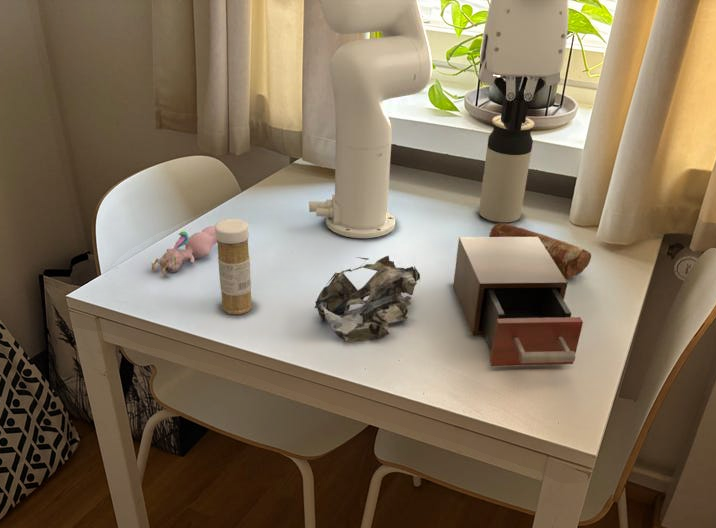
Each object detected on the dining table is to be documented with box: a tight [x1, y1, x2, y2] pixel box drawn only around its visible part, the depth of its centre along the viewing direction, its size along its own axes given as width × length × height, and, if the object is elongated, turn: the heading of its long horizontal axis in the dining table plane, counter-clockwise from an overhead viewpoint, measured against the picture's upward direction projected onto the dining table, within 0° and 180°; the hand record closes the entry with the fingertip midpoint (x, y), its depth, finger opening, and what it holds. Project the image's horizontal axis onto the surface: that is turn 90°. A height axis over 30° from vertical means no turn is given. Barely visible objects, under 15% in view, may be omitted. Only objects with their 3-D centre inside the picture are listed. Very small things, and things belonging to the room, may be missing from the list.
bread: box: [488, 222, 592, 280], centre depth 129 cm, size 6×19×6 cm, turn 41°
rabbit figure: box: [150, 225, 217, 277], centre depth 123 cm, size 6×6×15 cm
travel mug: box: [478, 114, 535, 224], centre depth 141 cm, size 8×8×18 cm
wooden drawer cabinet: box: [452, 236, 568, 337], centre depth 114 cm, size 15×13×9 cm
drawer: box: [480, 288, 584, 367], centre depth 105 cm, size 18×11×7 cm, turn 7°
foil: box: [314, 255, 421, 343], centre depth 110 cm, size 12×11×15 cm
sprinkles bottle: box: [214, 218, 253, 316], centre depth 109 cm, size 5×5×14 cm
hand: (511, 127), depth 103 cm, fingers closed
